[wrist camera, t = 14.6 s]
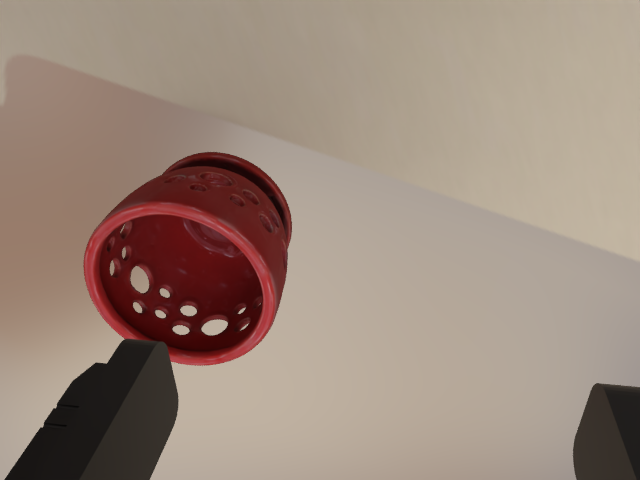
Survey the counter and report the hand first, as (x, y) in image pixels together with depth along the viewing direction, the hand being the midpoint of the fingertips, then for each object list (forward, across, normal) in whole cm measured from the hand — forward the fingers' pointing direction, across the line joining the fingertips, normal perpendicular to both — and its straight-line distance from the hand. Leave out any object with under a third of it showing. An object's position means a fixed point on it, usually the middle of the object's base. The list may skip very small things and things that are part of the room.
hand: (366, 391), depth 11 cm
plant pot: (+32, +13, +14) cm, 37 cm away
